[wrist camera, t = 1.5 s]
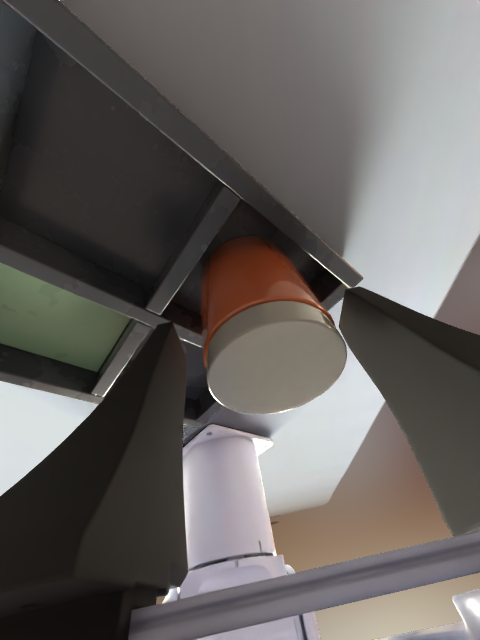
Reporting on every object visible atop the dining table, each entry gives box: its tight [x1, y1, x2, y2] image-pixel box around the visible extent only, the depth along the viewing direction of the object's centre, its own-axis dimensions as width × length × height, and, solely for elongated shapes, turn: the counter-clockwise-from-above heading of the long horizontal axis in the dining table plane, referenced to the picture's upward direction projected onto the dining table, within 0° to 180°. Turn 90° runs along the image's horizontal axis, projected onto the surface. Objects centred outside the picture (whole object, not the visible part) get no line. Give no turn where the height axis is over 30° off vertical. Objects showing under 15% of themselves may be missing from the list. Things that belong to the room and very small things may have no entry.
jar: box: [200, 236, 347, 414], centre depth 11 cm, size 5×5×6 cm
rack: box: [0, 0, 363, 428], centre depth 13 cm, size 15×15×2 cm
